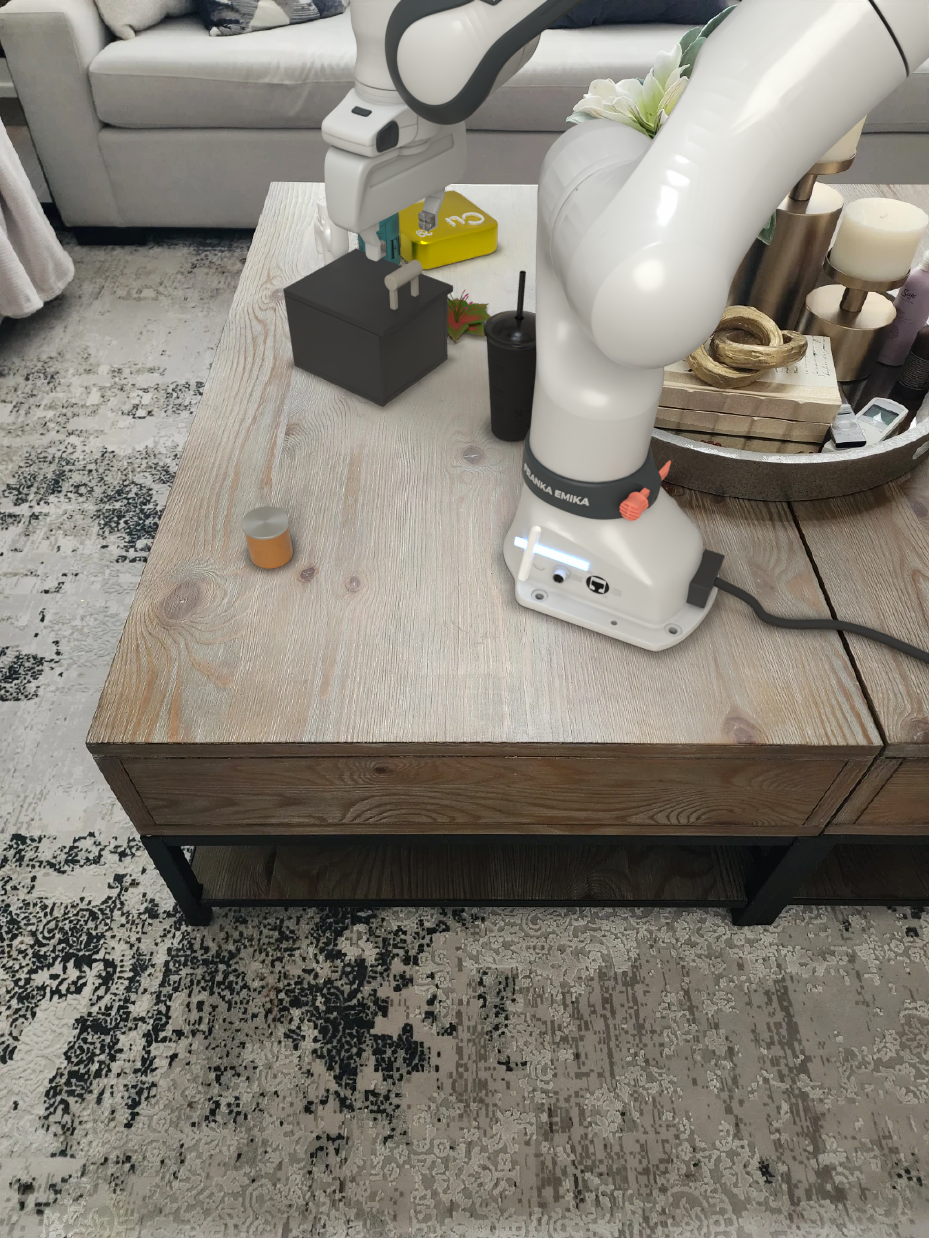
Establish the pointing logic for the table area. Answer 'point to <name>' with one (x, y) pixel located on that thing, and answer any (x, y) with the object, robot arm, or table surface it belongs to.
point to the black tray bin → (368, 350)
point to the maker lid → (369, 291)
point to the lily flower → (465, 317)
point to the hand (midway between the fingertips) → (402, 242)
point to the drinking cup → (511, 369)
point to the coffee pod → (268, 536)
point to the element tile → (447, 233)
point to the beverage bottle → (388, 238)
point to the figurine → (329, 235)
